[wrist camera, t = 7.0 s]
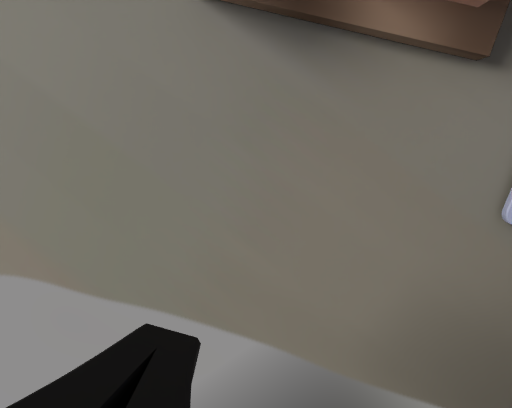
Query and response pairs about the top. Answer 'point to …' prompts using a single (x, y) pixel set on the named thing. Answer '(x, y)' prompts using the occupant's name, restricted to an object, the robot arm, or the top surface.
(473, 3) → the terracotta block
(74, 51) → the top surface
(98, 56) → the top surface
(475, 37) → the cargo strip
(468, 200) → the top surface
